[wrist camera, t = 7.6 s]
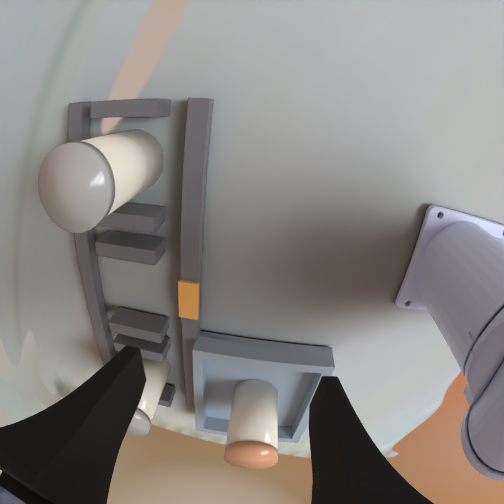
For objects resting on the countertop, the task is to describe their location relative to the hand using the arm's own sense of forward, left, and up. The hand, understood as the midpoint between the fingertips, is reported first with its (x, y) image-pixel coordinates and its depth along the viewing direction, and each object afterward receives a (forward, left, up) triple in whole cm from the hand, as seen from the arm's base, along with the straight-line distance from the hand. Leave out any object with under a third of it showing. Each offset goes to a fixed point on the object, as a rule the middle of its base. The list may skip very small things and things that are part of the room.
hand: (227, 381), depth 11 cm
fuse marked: (-2, +13, -9) cm, 16 cm away
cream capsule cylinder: (+8, -6, -10) cm, 14 cm away
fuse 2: (+8, +12, -10) cm, 17 cm away
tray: (-2, +13, -10) cm, 16 cm away
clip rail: (+8, +3, -10) cm, 13 cm away
